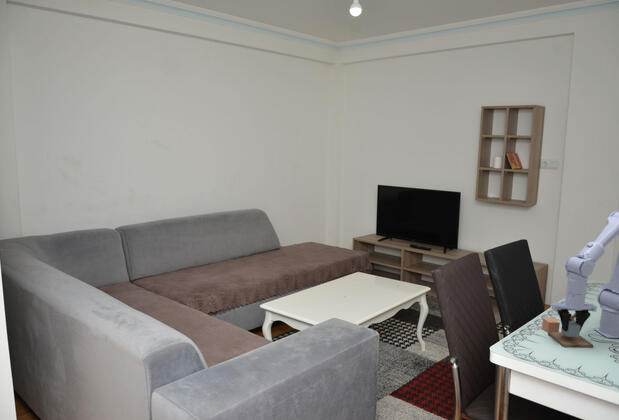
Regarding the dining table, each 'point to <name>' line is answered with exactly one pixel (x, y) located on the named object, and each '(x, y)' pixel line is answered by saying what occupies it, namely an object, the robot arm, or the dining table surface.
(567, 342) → the walnut base plate
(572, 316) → the wooden post with brackets
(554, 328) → the terracotta cube
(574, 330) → the slate cube
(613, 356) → the dining table surface
